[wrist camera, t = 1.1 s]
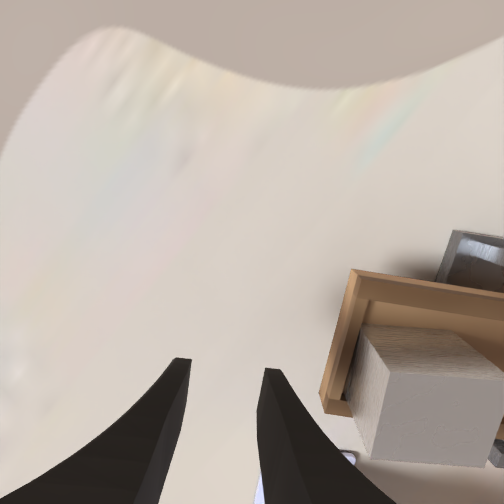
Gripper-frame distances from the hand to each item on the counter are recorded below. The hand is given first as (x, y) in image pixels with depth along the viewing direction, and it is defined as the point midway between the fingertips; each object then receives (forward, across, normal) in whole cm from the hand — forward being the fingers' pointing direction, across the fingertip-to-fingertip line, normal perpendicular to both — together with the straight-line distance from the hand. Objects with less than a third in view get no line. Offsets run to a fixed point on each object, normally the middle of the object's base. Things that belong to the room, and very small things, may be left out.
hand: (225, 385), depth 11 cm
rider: (+4, -9, +1) cm, 10 cm away
